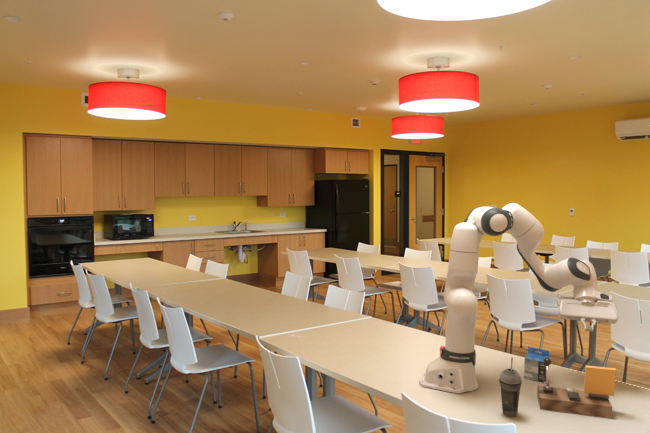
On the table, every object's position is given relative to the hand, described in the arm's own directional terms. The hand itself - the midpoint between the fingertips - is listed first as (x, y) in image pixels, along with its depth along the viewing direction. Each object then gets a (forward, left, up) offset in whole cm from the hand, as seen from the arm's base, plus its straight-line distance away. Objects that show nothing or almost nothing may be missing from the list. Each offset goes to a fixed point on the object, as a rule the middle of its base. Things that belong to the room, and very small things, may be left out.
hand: (588, 330), depth 184 cm
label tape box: (-17, +9, -24) cm, 31 cm away
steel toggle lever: (-15, -15, -18) cm, 28 cm away
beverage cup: (-28, -29, -24) cm, 47 cm away
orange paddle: (+1, -15, -18) cm, 24 cm away
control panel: (-7, -15, -24) cm, 29 cm away
